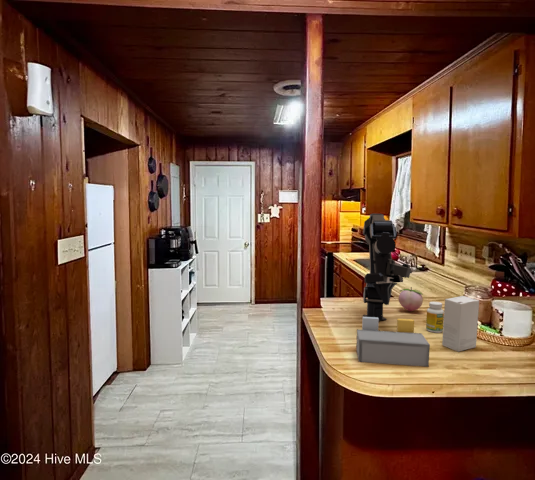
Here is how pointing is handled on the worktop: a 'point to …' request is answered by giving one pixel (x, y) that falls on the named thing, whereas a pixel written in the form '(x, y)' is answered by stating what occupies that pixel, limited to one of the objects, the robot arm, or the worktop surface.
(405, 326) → the mustard button
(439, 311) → the supplement bottle
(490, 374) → the worktop surface
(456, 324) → the skincare box
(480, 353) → the worktop surface
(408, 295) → the decorative fruit
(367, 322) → the light gray button
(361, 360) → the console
